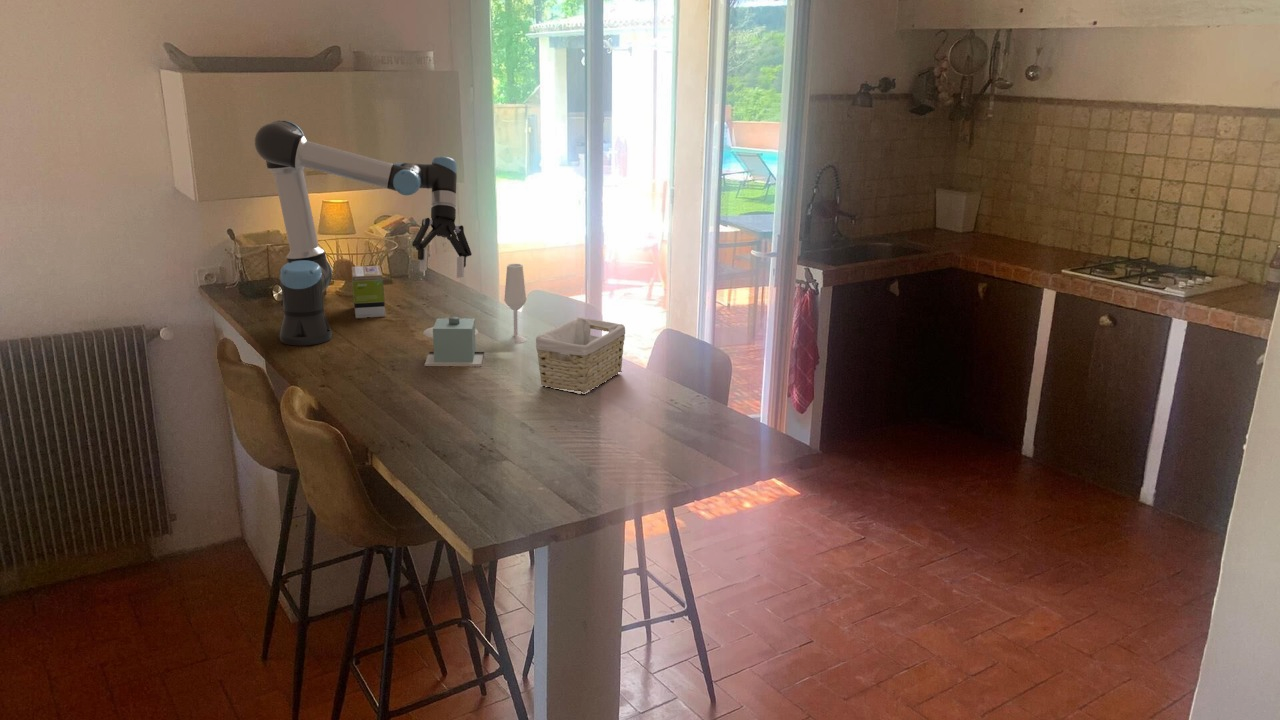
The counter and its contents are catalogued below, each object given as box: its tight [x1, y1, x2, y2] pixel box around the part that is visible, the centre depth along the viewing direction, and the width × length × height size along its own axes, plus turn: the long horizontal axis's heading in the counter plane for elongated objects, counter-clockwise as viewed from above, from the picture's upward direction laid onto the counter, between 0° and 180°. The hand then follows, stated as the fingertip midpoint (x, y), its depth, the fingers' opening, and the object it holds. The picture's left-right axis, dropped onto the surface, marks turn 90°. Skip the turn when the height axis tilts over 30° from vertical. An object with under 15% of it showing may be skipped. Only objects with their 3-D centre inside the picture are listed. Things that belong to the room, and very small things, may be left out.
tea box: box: [350, 265, 386, 319], centre depth 322 cm, size 15×10×15 cm, turn 18°
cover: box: [432, 316, 477, 362], centre depth 276 cm, size 11×11×12 cm
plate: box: [422, 326, 479, 340], centre depth 299 cm, size 17×17×5 cm
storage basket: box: [535, 317, 626, 393], centre depth 261 cm, size 24×16×15 cm
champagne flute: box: [503, 263, 527, 344], centre depth 294 cm, size 7×7×24 cm
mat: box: [424, 351, 485, 368], centre depth 279 cm, size 16×16×1 cm
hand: (441, 274), depth 293 cm, fingers open, 13 cm apart
